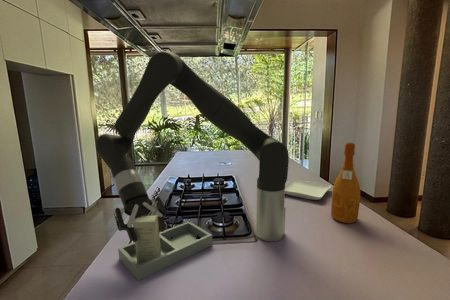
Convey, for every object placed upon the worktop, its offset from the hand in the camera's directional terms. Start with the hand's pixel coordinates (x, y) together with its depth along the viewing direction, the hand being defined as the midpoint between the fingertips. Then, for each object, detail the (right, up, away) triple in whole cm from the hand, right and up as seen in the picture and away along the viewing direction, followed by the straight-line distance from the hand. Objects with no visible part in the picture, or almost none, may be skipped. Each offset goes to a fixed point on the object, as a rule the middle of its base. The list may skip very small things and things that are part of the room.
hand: (150, 235), depth 74 cm
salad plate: (+61, +3, +57) cm, 83 cm away
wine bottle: (+68, -3, +28) cm, 73 cm away
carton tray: (+4, -7, +7) cm, 10 cm away
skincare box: (-1, -7, +2) cm, 8 cm away
